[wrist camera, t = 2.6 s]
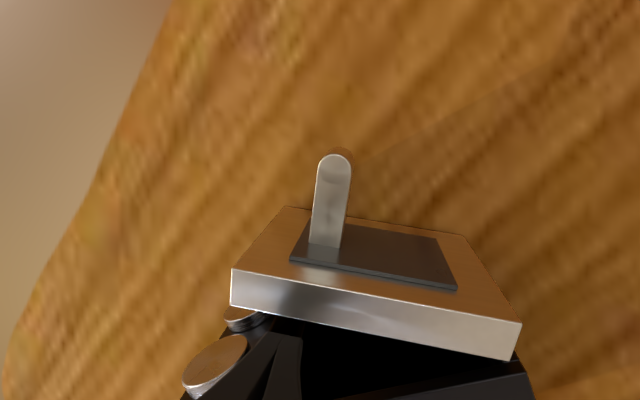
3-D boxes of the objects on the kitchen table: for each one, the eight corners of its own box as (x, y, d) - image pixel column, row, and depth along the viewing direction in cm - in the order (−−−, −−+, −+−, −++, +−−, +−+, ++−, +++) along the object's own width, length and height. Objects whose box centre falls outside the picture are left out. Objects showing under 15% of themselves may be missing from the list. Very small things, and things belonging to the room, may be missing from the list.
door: (291, 132, 18) (236, 152, 11) (483, 159, 17) (568, 203, 10) (281, 231, 20) (228, 306, 13) (456, 261, 19) (510, 363, 11)
